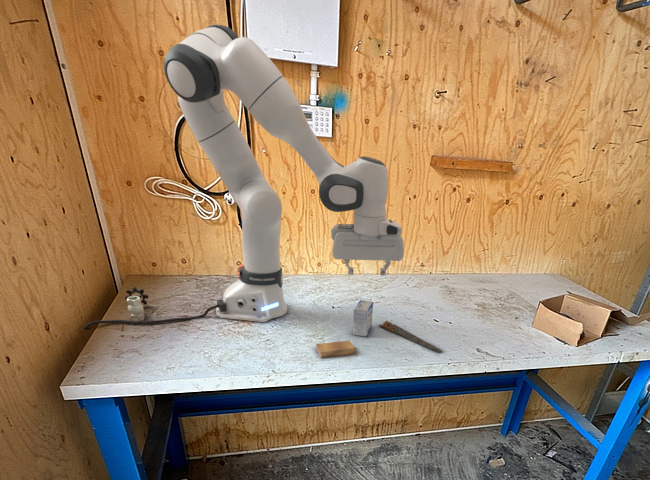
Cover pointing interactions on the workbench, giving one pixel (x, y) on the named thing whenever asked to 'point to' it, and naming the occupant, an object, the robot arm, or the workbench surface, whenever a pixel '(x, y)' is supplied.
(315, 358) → the workbench surface
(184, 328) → the workbench surface
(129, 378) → the workbench surface
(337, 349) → the plywood offcut
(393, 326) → the hand saw
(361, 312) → the medicine box
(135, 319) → the valve
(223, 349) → the workbench surface
